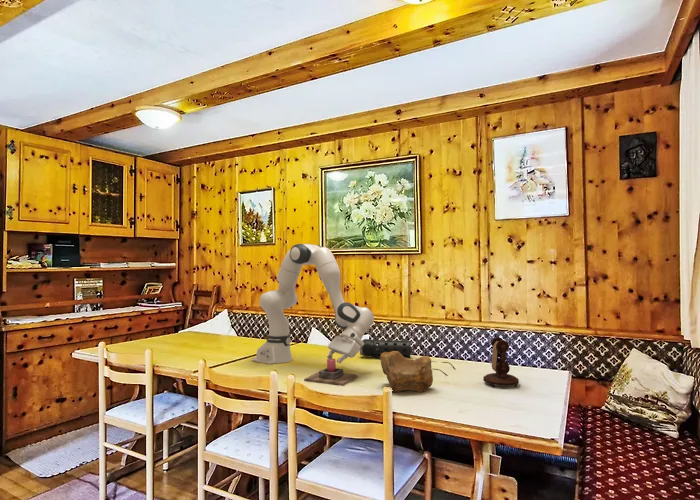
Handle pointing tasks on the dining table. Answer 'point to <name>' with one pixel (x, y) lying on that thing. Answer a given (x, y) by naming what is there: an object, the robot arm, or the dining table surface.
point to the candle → (331, 365)
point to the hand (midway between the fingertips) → (333, 360)
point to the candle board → (331, 377)
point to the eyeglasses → (442, 371)
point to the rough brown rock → (407, 372)
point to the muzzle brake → (385, 347)
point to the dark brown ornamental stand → (500, 365)
